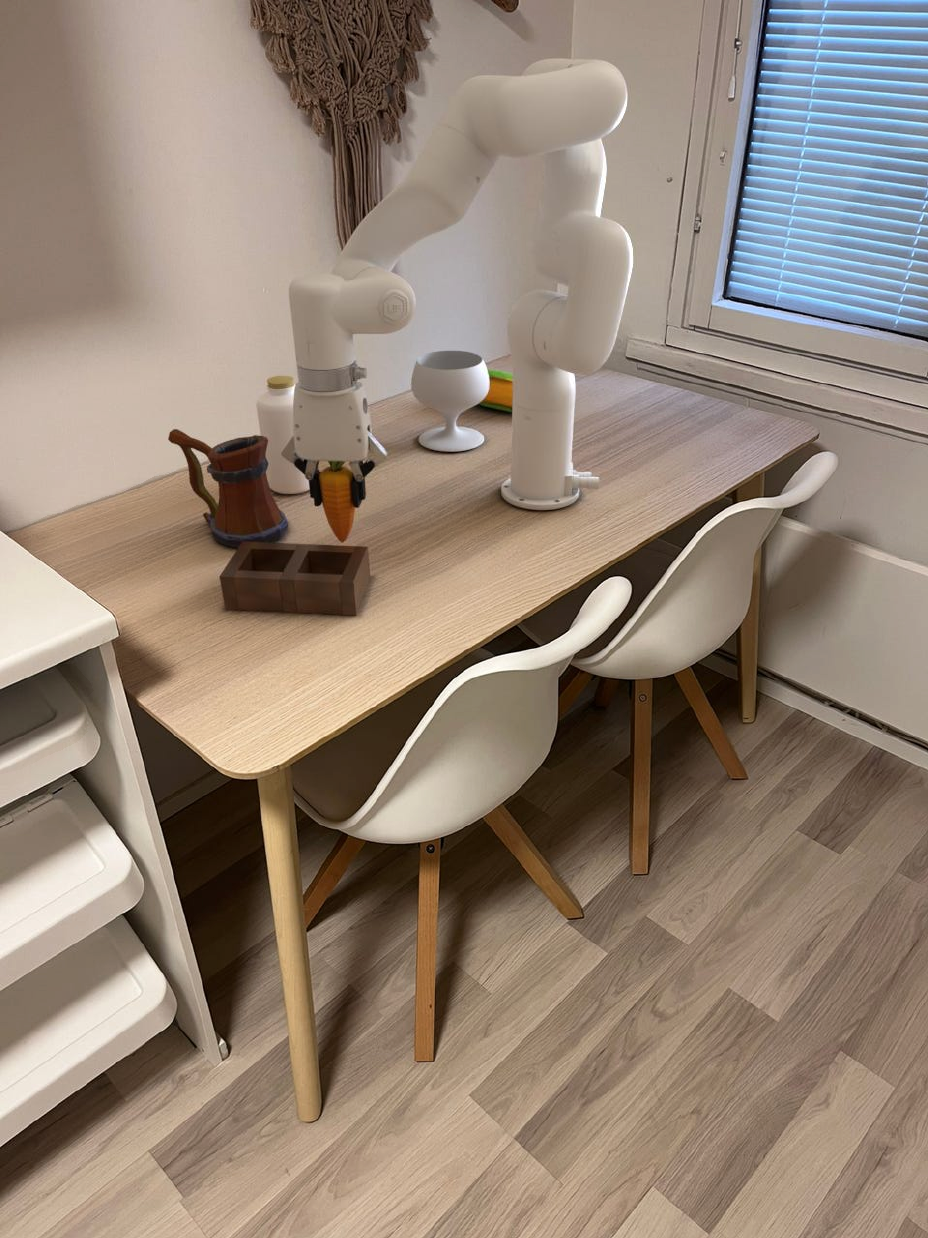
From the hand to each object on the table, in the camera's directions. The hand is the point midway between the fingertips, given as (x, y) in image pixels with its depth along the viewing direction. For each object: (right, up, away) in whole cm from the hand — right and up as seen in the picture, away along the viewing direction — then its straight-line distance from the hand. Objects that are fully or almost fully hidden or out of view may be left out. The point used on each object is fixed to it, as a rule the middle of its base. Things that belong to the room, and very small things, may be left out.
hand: (338, 501), depth 127 cm
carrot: (0, -6, +4) cm, 7 cm away
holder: (-4, -13, -7) cm, 15 cm away
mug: (-17, -3, +10) cm, 20 cm away
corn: (+26, +25, +53) cm, 65 cm away
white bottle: (-11, +5, +23) cm, 26 cm away
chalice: (+15, +16, +39) cm, 45 cm away
